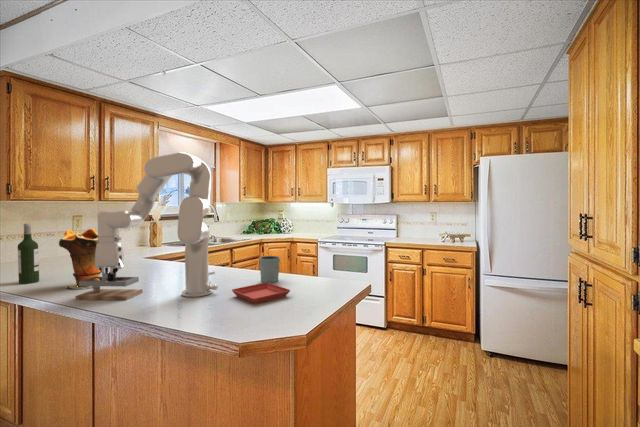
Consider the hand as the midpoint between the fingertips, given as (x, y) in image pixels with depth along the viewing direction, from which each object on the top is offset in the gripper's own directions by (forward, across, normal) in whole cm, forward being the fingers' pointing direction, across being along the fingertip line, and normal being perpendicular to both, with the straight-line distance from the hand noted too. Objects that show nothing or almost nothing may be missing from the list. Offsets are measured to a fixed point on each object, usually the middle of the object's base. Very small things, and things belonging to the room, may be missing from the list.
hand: (109, 282), depth 143 cm
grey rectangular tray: (0, 0, 0) cm, 0 cm away
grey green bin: (+6, -63, -29) cm, 70 cm away
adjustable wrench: (+6, -24, -37) cm, 44 cm away
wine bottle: (+6, +60, -24) cm, 65 cm away
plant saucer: (+6, -65, -1) cm, 65 cm away
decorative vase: (+6, +25, -19) cm, 32 cm away
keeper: (+6, 0, 0) cm, 6 cm away
